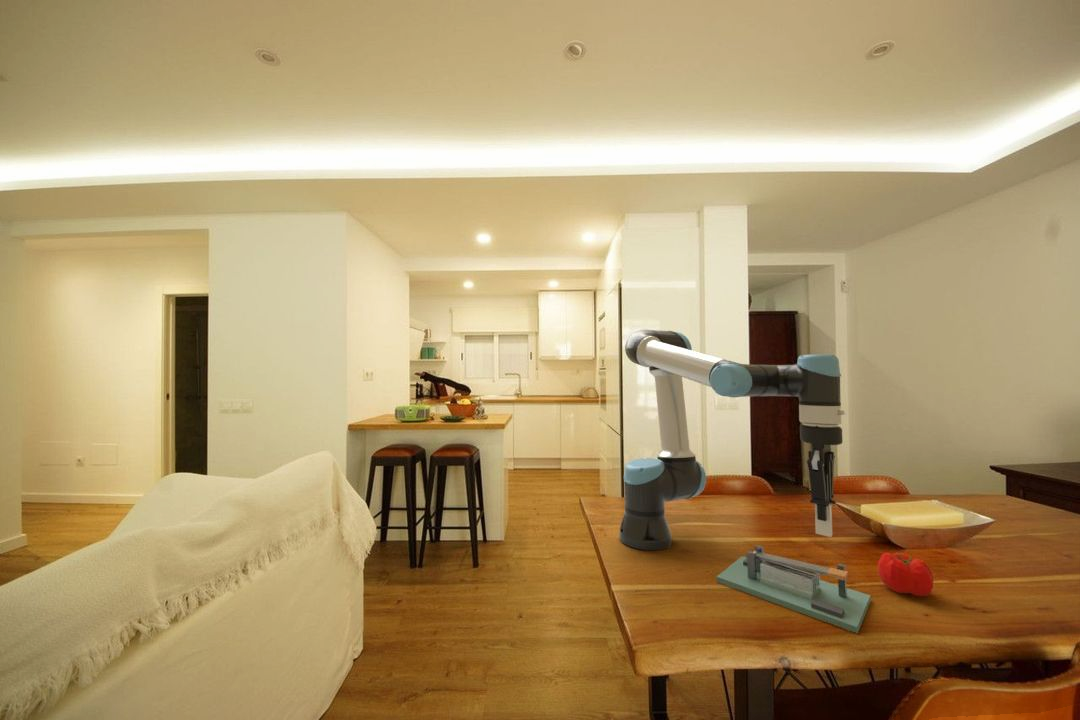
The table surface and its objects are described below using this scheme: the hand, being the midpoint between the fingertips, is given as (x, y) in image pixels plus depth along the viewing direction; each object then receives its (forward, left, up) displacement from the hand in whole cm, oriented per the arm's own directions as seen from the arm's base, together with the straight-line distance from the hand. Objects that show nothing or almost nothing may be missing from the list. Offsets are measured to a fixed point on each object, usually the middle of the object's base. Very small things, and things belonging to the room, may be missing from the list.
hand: (823, 534), depth 83 cm
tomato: (+11, +18, -15) cm, 26 cm away
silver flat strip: (-5, -1, -9) cm, 10 cm away
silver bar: (-6, 0, -13) cm, 14 cm away
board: (-7, -1, -14) cm, 16 cm away
